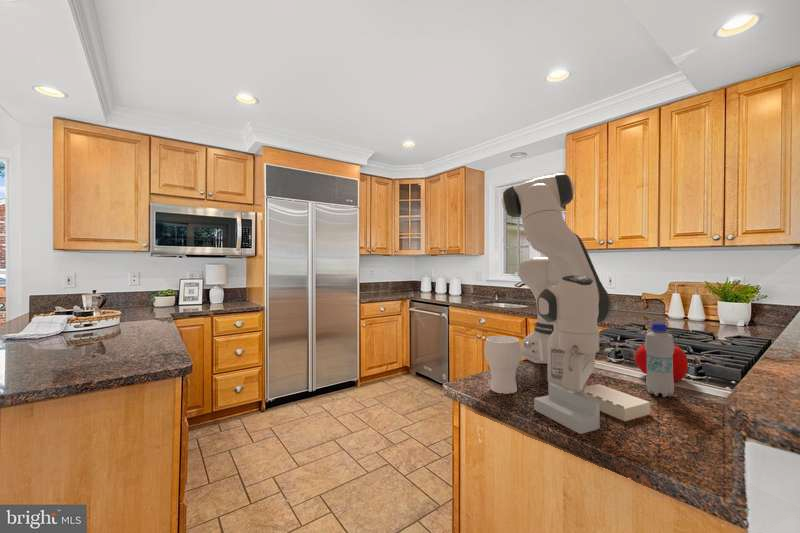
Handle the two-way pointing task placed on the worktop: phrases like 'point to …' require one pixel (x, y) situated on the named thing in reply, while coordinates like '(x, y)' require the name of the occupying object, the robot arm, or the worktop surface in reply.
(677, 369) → the tomato
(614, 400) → the cream slotted block
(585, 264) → the robot arm
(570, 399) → the stepped block
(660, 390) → the bottle
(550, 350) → the bath foam
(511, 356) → the cup
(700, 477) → the worktop surface
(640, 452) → the worktop surface
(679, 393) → the worktop surface
